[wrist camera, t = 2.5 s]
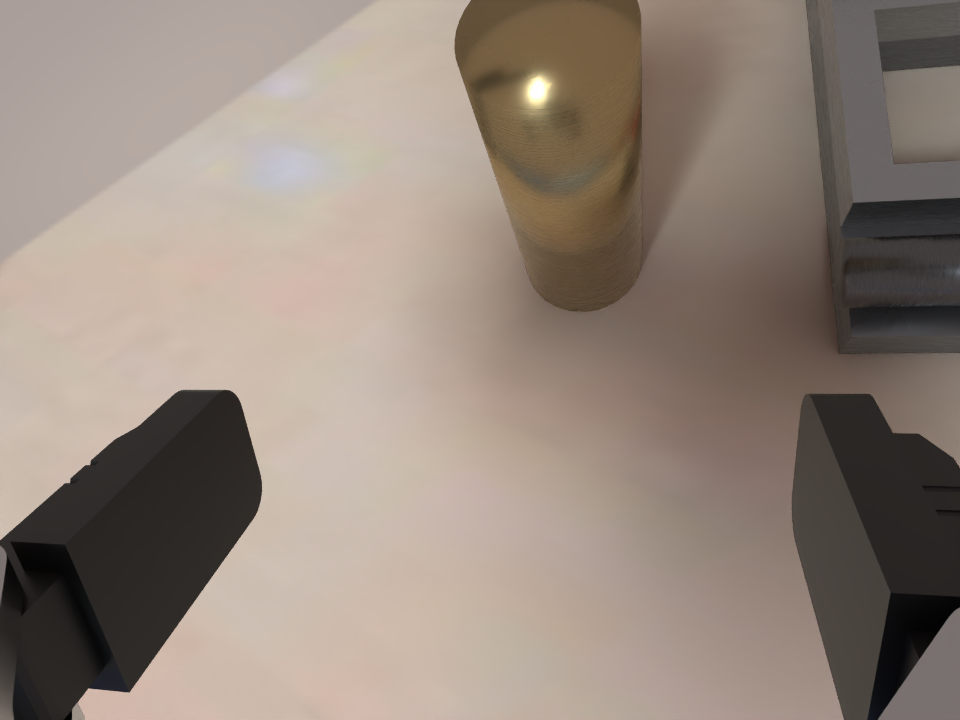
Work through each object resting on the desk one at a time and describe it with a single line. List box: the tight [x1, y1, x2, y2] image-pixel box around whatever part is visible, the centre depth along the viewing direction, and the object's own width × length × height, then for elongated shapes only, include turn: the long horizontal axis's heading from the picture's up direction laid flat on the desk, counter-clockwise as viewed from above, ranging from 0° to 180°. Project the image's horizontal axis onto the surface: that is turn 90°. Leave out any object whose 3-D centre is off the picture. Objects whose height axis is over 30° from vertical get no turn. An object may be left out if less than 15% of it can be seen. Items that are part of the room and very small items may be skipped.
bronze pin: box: [455, 0, 642, 312], centre depth 21 cm, size 4×4×11 cm
